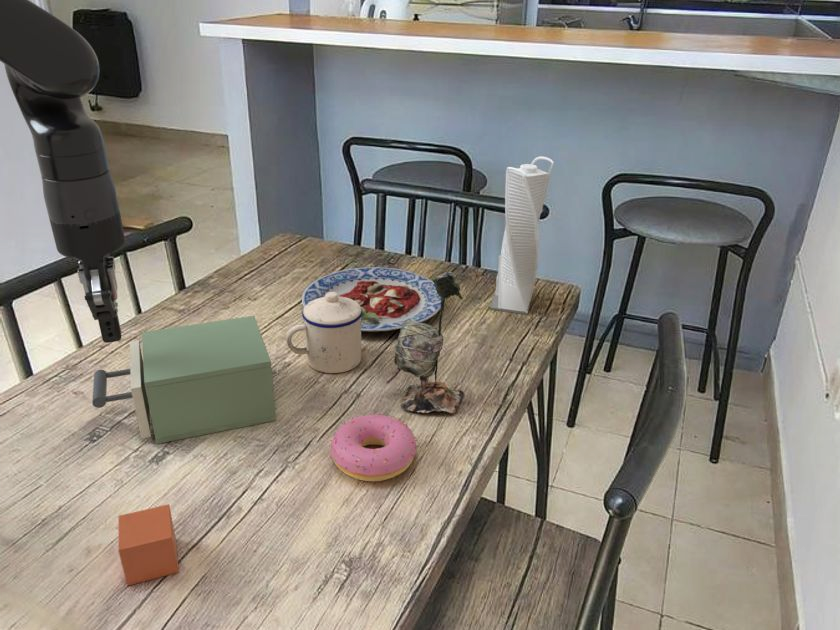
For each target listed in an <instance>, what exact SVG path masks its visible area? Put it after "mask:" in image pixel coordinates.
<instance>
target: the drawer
mask: <svg viewBox="0 0 840 630" xmlns="http://www.w3.org/2000/svg"><path fill="white" fill-rule="evenodd" d="M140 343H141V342H140V340H139V339H138V340H132V341H129V360H130V361H129V367H130V368H126V369H120V370H113V371H109V372H107V371H106V370H104V369H97V370H96V371H94V373H93V385H92V400H91V401H92V403H91V404H92V406H93V407H95V408H97V409H98V408H99V409H100V408H103V407H105V406H106V404H107V403H112V402H115V401H122V400H127V399H132V401H133V406H134V411H135V415H136V421H137V424H138V430H139V434H140V439H142V440H143V439H147V438H152V432H151V431H152V430H151V429H152V428H151V414H150V409H149V404H148V399H147V393H146V388H145V383H144V366H143V352H142V349H141V344H140ZM124 376H130V391H128V392H123V393H117V394H112V395H111V394H110V395H107V391H108V390H107V389H108V379H111V378H118V377H124Z"/></svg>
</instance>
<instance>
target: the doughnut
mask: <svg viewBox="0 0 840 630" xmlns="http://www.w3.org/2000/svg"><path fill="white" fill-rule="evenodd" d="M417 441H418V440H417V437H416V436H415V435H414V433H413V430H412V429H411V428H410V427H409V426H408V424H407V423H404V422H403V421H401V420H400V419H397V418H396V417H395V416H394V415H393V416H389V415H386V414H385V415H384V414H365V413H364V414H363V415H360V416H355V417H352V418H351V419H349V420H347V421H346V422H343V424H342V425H341V426H340V427H338V429H337V430H335V432H334V434H333V436H332V439H330V445H329V446H330V448H329V450H330V456H332V459H333V463H334V464H335V466H336V467H337V468H338V469H339V470H340V471H341V472H342V473H344V474H345V475H347V476H348V477H350V478H352V479H355V480H358V481H359V480H360V481H364V482H381V481H386V480H390V479H393V478H395V477H397V476H399V475H401V474H403V472H405V471H406V470H407V469H408V468H409V467H410V466H411V464H412V462H413V461H414V459H415V456H416V453H417V449H418V445H417ZM369 445H377V446H382V447H379V448H378V447H377V448H368V447H366V446H369Z"/></svg>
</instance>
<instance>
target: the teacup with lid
mask: <svg viewBox="0 0 840 630" xmlns="http://www.w3.org/2000/svg"><path fill="white" fill-rule="evenodd" d="M301 315H302V318H303V320H304V321H303V322H304V323H300V324H296V325H294V326H292V327H290V328H289V329H288V330H287V332H286V334H285V343H286V345H287V348H288V349H289V350H290V351H291V352H292V353H294V354H296V355H306V362H307V364H308V366H309V367H310V368H312V369H313V370H315V371H317V372H320V373H325V374H340V373H345V372H348V371H351V370H353V369H354V368H356V367H357V366H358V365H359V364H361V361H362V357H363V356H362V331H361V316H362V309H361V307H360V305H359V304H358V303H357V302H356V301H354V300H352V299H349V298H346V297H340V296H338V294H337V293H336V292H328V293H327V294H326V295H325V297H322V298H318V299H315V300H313V301H311V302H309V303H308V304H307V305H306V306H305V308H304V307H303V310H302V314H301ZM301 331H304V334H305V336H304V337H305V347H296V346H295V345H294V344H293V343H292V338H293V336H294V335H295V334H296V333H298V332H301Z"/></svg>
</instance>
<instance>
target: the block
mask: <svg viewBox="0 0 840 630" xmlns="http://www.w3.org/2000/svg"><path fill="white" fill-rule="evenodd" d="M117 537H118V540H117V541H118V547H117V548H118V554H119V558H120V562H121V566H122V570H123V575H124V578H125V582H126V585H127V586H132V585H136V584H139V583H143V582H148V581H151V580H155V579H159V578H162V577H167V576H171V575H174V574H178V573H179V572H180V567H179V558H178V557H179V556H178V547H177V537H176V532H175V527H174V522H173V517H172V511H171V507H170V504H165V505H160V506H154V507H150V508H147V509H142V510H138V511H133V512H128V513H126V514H125V513H124V514H120V515H118V536H117Z"/></svg>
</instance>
